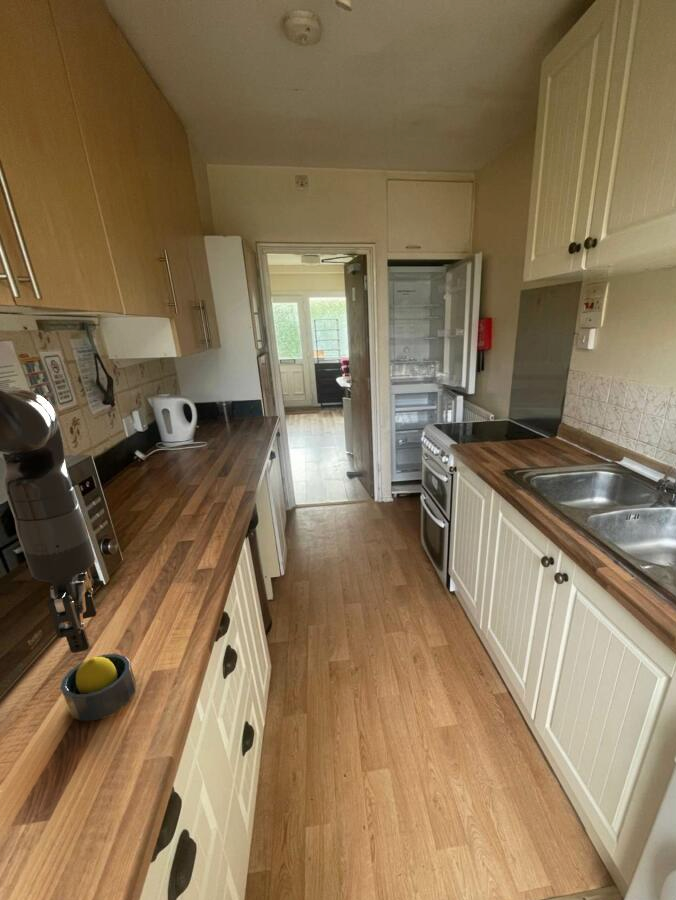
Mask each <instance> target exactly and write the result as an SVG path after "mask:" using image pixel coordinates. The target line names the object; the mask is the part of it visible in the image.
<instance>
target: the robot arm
mask: <svg viewBox="0 0 676 900" xmlns="http://www.w3.org/2000/svg"><path fill="white" fill-rule="evenodd" d="M62 434H63V433H62V429H61V425H60V420H59V418H58V415H57V413H56V411H55V409H54V407H53V406H52V405H51V404H50V402H49V401H47V399H45V398H44V397H43V396H41V395H40V394H38V393H35V392H34V391H33V392H32V391H30V390H26V389H10V390H5V391H3V390H2V389H0V454H1V455H2V458H3V461H4V466H5V467H4V468H5V472H4V476H3V480H2V481H3V490H4V493H5V497H6V499H7V502H8V505H9V508H10V511H11V513H12V516H13V518H14V525H15V531H16V535H17V537H18V538H17V539H18V541H19V543H20V546H21V549H22V552H23V555H24V557H25V560H26V563H27V566H28V568H29V571H30V574H31V576H32V577H33V578H34V579H35V580H38V581H42V582H48V583H49V584H52V586H50V588H49V590H50V597H51V598H49V599H47V601H46V606H47V608H48V611H49V614H50V618H51V620H52V624H53V626H54V627H53V628H54V630H55V633H56V637H57V638H58V639H62V638H66V641H67V644H68V647H69V650H70V652H71V653H74V654H75V653H79V652H84V651H88V649H90V642H89V638H88V635H87V632H86V629H85V623H84V620H85V619H90V618H94V617H96V616H97V613H98V611H97V608H96V603H95V601H94V597H93V592H94V589H93V588H92V586H94V584H95V583H94V582H95V581H94V579H93V577H92V574H91V573H92V572H91V570H90V569H91V568H92V567H93V566H94V564H95V563H96V562H95V561H96V557H95V554H94V549H93V546H92V543H91V540H90V539H91V538H90V536H89V535H90V534H89V532H88V529H87V525H86V522H85V518H84V515H83V513H82V511H81V509H80V507H79V505H78V501H77V497H76V495H75V490H74V486H73V484H72V480H71V478H70V475H69V472H68V469H67V464H66V453H65V446H64V440H63V435H62ZM75 606H76V607H75ZM68 622H70V623H68Z"/></svg>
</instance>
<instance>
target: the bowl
mask: <svg viewBox="0 0 676 900" xmlns="http://www.w3.org/2000/svg"><path fill="white" fill-rule="evenodd" d="M96 657H104V658H107V659H109V660H110V661H111V662H112V663H113V664H114V666H115V668H116V670H117V674H118V679H117V680H116V681H115V682H114V683H112V684H111V685H110V686H108V687H106V688H104V689H102V690H100V691H96V692H92V693H89V694H80V692H79V690H78V688H77V686H76V673H77V671H78V669H79V667H80V666H81V665H82V664H83V663H84V662H85V661H86V660H84V661H82V662H80V663H79V664H77V665H76V666H75V667H73V668H72V669H70V670H69V672H67V673H66V675H65V676H64V677H63V678H62V680H61V684H60V688H59V689H60V691H61V693H62V697H63V699H64V701H65V705H66V708H67V710H68V713H69V714H70V716H71V718H73V719H75V720H78V721H80V722H87V721H88V722H89V721H91V722H92V721H96V720H97V721H98V720H100V719H105V718H106V717H109V716H112V715H113V714H115V713H117V712H119V711H120V710H122V708H123V707H125V706H126V705H127V704H128V703H129V702H130V701H131V700H132V698H133V697H134V695H135V693H136V691H137V682H136V679H135V675H134V672H133V668H132V665H131V662H130V660H129V659H128V657H127V656H126V655H122V654H119V653H106V654H101V655H97V656H96Z"/></svg>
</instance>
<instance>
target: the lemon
mask: <svg viewBox="0 0 676 900" xmlns="http://www.w3.org/2000/svg"><path fill="white" fill-rule="evenodd" d="M84 661H85V662H84ZM84 661H83V662H84V663H83V664H82V665H81V666H80V667H79V669H78V671H77V673H76V686H77V688H78V690H79V692H80V694H89V693H92V692H96V691H100V690H102V689H104V688H106V687H108V686H110V685H111V684H112V683H114V682H115V681H116V680H117V679H118V674H117V670H116V668H115V666H114V664H113V663H112V662H111V661H110V660H109V659H107V658H104V657H97V656H93V657H91V658H88V659H86V660H84Z"/></svg>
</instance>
